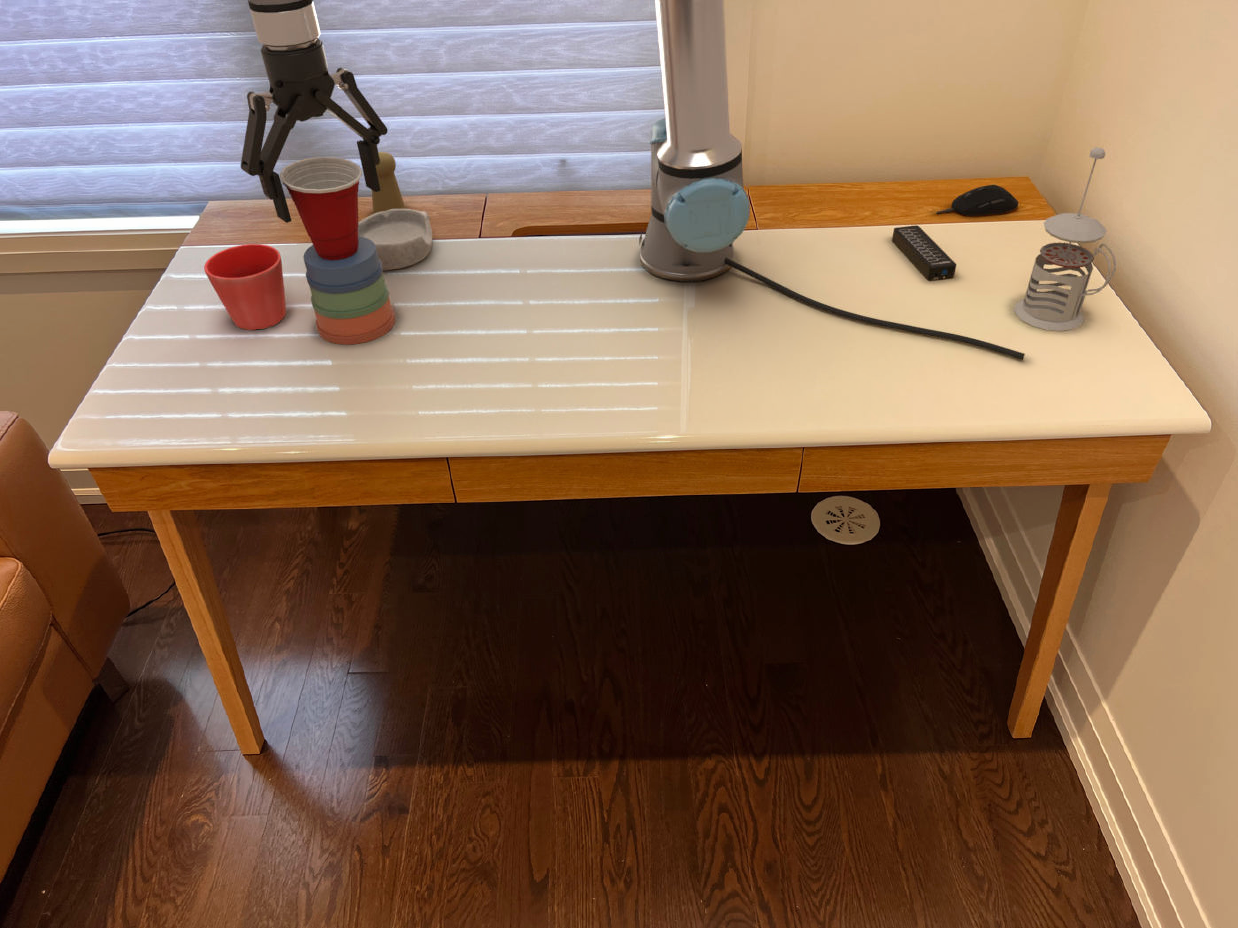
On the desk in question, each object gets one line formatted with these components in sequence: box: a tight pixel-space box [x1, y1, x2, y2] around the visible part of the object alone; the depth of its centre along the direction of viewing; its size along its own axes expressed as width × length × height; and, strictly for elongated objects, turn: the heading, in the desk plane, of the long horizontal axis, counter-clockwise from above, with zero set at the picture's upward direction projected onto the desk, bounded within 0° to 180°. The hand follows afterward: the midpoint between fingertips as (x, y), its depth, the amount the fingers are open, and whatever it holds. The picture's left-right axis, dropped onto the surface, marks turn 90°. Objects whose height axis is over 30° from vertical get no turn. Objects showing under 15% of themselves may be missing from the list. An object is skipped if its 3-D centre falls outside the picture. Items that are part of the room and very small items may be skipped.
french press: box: [1013, 146, 1117, 332], centre depth 132 cm, size 10×12×25 cm
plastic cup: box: [278, 156, 363, 260], centre depth 132 cm, size 11×11×12 cm
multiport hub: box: [891, 224, 957, 282], centre depth 154 cm, size 4×14×2 cm, turn 11°
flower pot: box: [203, 243, 287, 331], centre depth 142 cm, size 11×11×10 cm
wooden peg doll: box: [371, 151, 407, 215], centre depth 169 cm, size 6×6×11 cm
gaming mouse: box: [936, 184, 1019, 217], centre depth 166 cm, size 6×15×4 cm, turn 101°
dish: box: [358, 208, 433, 271], centre depth 159 cm, size 14×14×5 cm
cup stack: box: [303, 236, 397, 345], centre depth 139 cm, size 12×12×12 cm
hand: (330, 203), depth 131 cm, fingers open, 13 cm apart
